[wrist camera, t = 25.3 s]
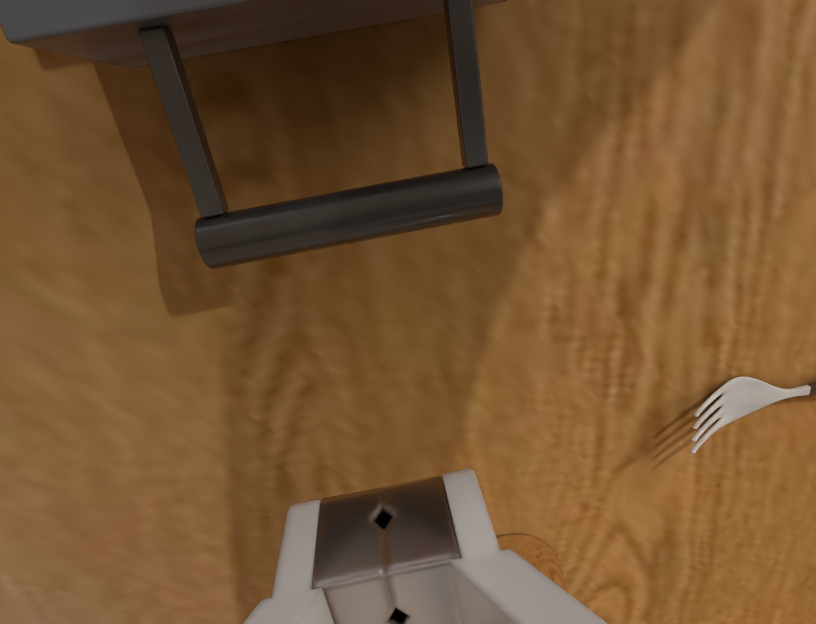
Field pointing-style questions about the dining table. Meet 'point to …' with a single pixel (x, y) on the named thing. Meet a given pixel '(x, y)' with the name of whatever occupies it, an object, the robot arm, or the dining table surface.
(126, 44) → the drawer
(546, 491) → the dining table surface
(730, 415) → the fork
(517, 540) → the beer glass
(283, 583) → the robot arm
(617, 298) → the dining table surface
